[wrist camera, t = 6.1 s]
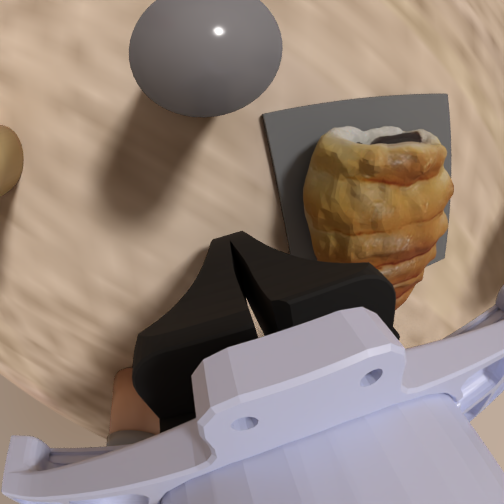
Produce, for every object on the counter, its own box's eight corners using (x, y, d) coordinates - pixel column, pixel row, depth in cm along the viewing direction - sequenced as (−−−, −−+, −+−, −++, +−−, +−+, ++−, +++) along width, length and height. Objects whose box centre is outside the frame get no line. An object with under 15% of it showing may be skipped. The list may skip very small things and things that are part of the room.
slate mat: (442, 256, 16) (444, 258, 16) (300, 314, 16) (301, 316, 15) (444, 93, 11) (447, 94, 11) (262, 114, 11) (263, 114, 10)
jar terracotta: (173, 393, 16) (180, 464, 12) (129, 402, 16) (127, 470, 12) (151, 361, 15) (151, 440, 11) (102, 372, 15) (93, 446, 10)
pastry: (408, 282, 16) (446, 320, 13) (304, 316, 16) (333, 369, 12) (417, 119, 12) (477, 133, 8) (285, 130, 11) (329, 143, 8)
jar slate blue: (248, 101, 10) (295, 99, 6) (164, 124, 10) (150, 136, 6) (229, 25, 9) (264, -26, 4) (143, 46, 8) (116, 6, 4)
